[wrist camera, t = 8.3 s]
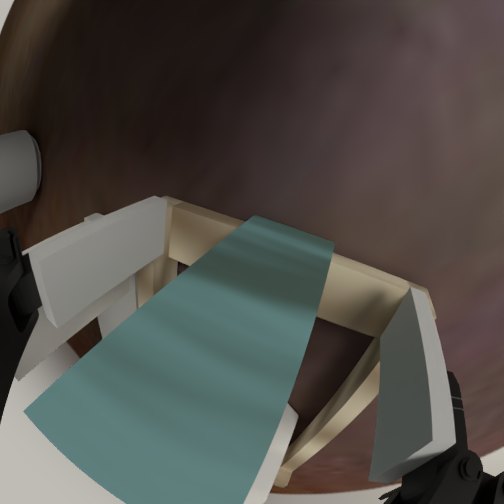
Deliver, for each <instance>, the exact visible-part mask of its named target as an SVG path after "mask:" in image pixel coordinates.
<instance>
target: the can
mask: <svg viewBox="0 0 504 504" xmlns="http://www.w3.org/2000/svg"><path fill="white" fill-rule="evenodd" d="M40 181H41V157H40V151H39V147H38V144H37V142H36V140H35V139H34V138H33V137H32V136H31V135H30V134H29V133H28V132H27V131H26V130H20V131H16V132H11V133H7V134H3V135H0V213H3V212H5V211H7V210H10V209H12V208H14V207H17V206H19V205H22V204H24V203H27V202H29V201H32V199H33V198H34V196H35V194H36V191H37V189H38V188H39V185H40Z"/></svg>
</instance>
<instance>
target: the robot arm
mask: <svg viewBox="0 0 504 504" xmlns="http://www.w3.org/2000/svg"><path fill="white" fill-rule="evenodd" d="M166 210H167V200H166V199H163V198H160V197H157V196H153V197H150V198H147V199H145V200H142V201H139V202H137V203H134V204H132V205H129V206H127V207H124V208H122V209H119V210H117V211H115V212H112V213H110V214H107V215H105V216H103V217H100V218H98V219H96V220H94V221H91V222H89V223H87V224H85V225H82V226H80V227H78V228H76V229H74V230H72V231H69V232H67V233H65V234H63V235H61V236H59V237H57V238H55V239H53V240H51V241H49V242H47V243H45V244H43V245H41V246H39V247H37V248H35V249H33V250H31V251H29V252H28V253H26V254H24V255H22V250H21V246H20V241H19V235H18V231H17V230H16V229H13V228H5V229H1V230H0V422H1V419H2V415H3V411H4V407H5V404H6V400H7V397H8V394H9V391H10V388H11V384H12V381H13V379H14V376H15V373H16V370H17V368H18V365H19V362H20V360H21V357H22V355H23V352H24V350H25V347H26V345H27V343H28V340H29V338H30V336H31V333H32V331H33V329H34V327H35V325H36V323H37V321H38V318H39V312H38V308H40V307H41V306H43V309H44V312H45V315H46V318H47V319H48V320H49V321H50V322H51V323H52V324H53V325H54V326H55V327H56V328H59V327H61V326H62V325H63V324H64V323H66V322H67V321H68V320H70V319H71V318H72V317H74V316H75V315H76V314H78V313H79V312H80V311H82V310H83V309H85V308H86V307H87V306H89V305H90V304H91V303H93V302H94V301H95V300H97V299H98V298H100V297H101V296H102V295H104V294H105V293H107V292H108V291H109V290H111V289H112V288H114V287H115V286H116V285H118V284H119V283H121V282H122V281H124V280H125V279H126V278H128V277H129V276H131V275H132V274H134V273H135V272H137V271H138V270H140V269H141V268H142V267H144V266H145V265H147V264H148V263H150V262H151V261H153V260H154V259H156V258H157V257H159V256H160V255H162V254H163V253H164V238H165V222H166ZM462 409H463V404H462V400H461V393H460V387H459V384H458V382H457V380H456V378H455V376H454V374H453V372H449V371H446V366H445V361H444V357H443V352H442V348H441V344H440V340H439V336H438V332H437V328H436V325H435V321H434V318H433V314H432V311H431V308H430V304H429V301H428V298H427V295H426V292H423V291H420V290H418V289H415V288H413V287H410V288H409V290H408V292H407V293H406V295H405V297H404V299H403V301H402V302H401V304H400V306H399V308H398V309H397V311H396V313H395V314H394V316H393V318H392V319H391V321H390V323H389V324H388V326H387V327H386V329H385V331H384V332H383V334H382V335H381V337H380V381H379V400H378V413H377V424H376V433H375V441H374V449H373V456H372V462H371V468H370V474H369V479H368V481H375V482H383V483H391V482H393V481H395V480H397V479H399V478H401V477H402V485H401V487H398V488H397V489H394V490H392V491H390V492H388V493H385V494H383V495H382V496H381V497H380V498H379V499H380V500H383V499H385V498H387V497H389V498H388V499H387V500H386V501H385V502H384V504H504V472H502V473H500V474H499V475H497V476H496V477H494V476H492V475H490V474H487V473H485V472H483V465H482V463H481V460H480V458H479V457H478V456H477V454H476V453H474V452H472V451H471V450H468V445H467V434H466V425H465V417H464V411H462Z"/></svg>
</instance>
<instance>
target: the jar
mask: <svg viewBox="0 0 504 504" xmlns="http://www.w3.org/2000/svg"><path fill="white" fill-rule="evenodd" d="M297 420H298V414H297V413H296V412H295V411H294V410H293V408H292V407H291V406H290V405H289V404H288V403H287V405H286V408H285V410H284V413H283V415H282V418H281V421H280V423H279V426H278V428H277V431H276V433H275V435H274V438H273V440H272V443H271V445H270V447H269V450H268V452H267V454H266V457H265V459H264V461H263V463H262V466H261V468H260V470H259V472H258V474H257V477H256V479H255V481H254V483H253V485H252V487H251V489H250V491H249V493H248V495H247V497H246V499H245V501H244V503H243V504H264V503H265V501H266V499H267V497H268V494H269V492H270V490H271V488H272V485H273V483H274V481H275V478H276V476H277V473H278V471H279V468H280V466H281V463H282V461H283V458H284V456H285V453H286V450H287V448H288V445H289V442H290V440H291V437H292V434H293V431H294V428H295V426H296V423H297Z"/></svg>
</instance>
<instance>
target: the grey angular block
mask: <svg viewBox="0 0 504 504" xmlns="http://www.w3.org/2000/svg"><path fill="white" fill-rule="evenodd" d="M103 216H104V215H101V214H99V213H94V214H92V215H90V216H87V217H85V218H84V220H85V221H84V222H82V223H80V224H78V225H75V226H73V227H71V228H69V229H67V230H65V231H62V232H60V233H58V234H56V235H54V236H52V237H50V238H48V239H46V240H44V241H42V242H40V243H38V244H36V245H34V246H32V247H30V248H28V249H26V250H24V251H23V252H22V255H24V254H26V253H28V252H29V251H31V250H33V249H35V248H37V247H39V246H41V245H43V244H45V243H47V242H49V241H51V240H53V239H55V238H57V237H59V236H61V235H63V234H65V233H67V232H69V231H72V230H74V229H76V228H78V227H80V226H82V225H85V224H87V223H89V222H91V221H94V220H96V219H98V218H100V217H103ZM137 309H139V307H138V291H137V272H135V273H134V274H132V275H131V276H129V277H128V278H126V279H125V280H124V281H122V282H121V283H119V284H118V285H116V286H115V287H114V288H112V289H111V290H109V291H108V292H107V293H105V294H104V295H102V296H101V297H100V298H98V299H97V300H95V301H94V302H93V303H91V304H90V305H89V306H87V307H86V308H85V309H83V310H82V311H80V312H79V313H78V314H76V315H75V316H74V317H72V318H71V319H70V320H68V321H67V322H66V323H64V324H63V325H62V326H61V327H59V328H56V327H55V326H54V325H53V324H52V323H51V322H50V321H49V320H48V319H47V318H46V315H45V312H44V309H43V306H41V307H40V308H38V312H39V318H38V321H37V323H36V325H35V327H34V329H33V331H32V333H31V336H30V338H29V340H28V343H27V345H26V347H25V350H24V352H23V355H22V357H21V360H20V362H19V365H18V368H17V370H16V373H15V377H16V379H17V380H18V381H19V380H21V379H22V378H23V377H24V376H25V375H26V374H28V373H29V372H30V371H31V370H32V369H33V368H34V367H36V366H37V365H38V364H39V363H40V362H41V361H43V360H44V359H45V358H46V357H47V356H49V355H50V354H51V353H52V352H53V351H55V350H56V349H57V348H58V347H60V346H61V345H62V344H63V343H64V342H66V341H67V340H68V339H69V338H71V337H72V336H73V335H74V334H75V333H77V332H78V331H79V330H80V329H82V328H83V327H84V326H85V325H87V324H88V323H89V322H91V321H92V320H93V319H94V318H96V317H98V322H99V326H100V331H101V335H102V339H104V338H105V337H106V336H107V335H108V334H109V333H111V332H112V331H113V330H114V329H115V328H116V327H117V326H119V325H120V324H121V323H122V322H123V321H124V320H126V319H127V318H128V317H129V316H130V315H132V314H133V313H134V312H135V311H136V310H137Z"/></svg>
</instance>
